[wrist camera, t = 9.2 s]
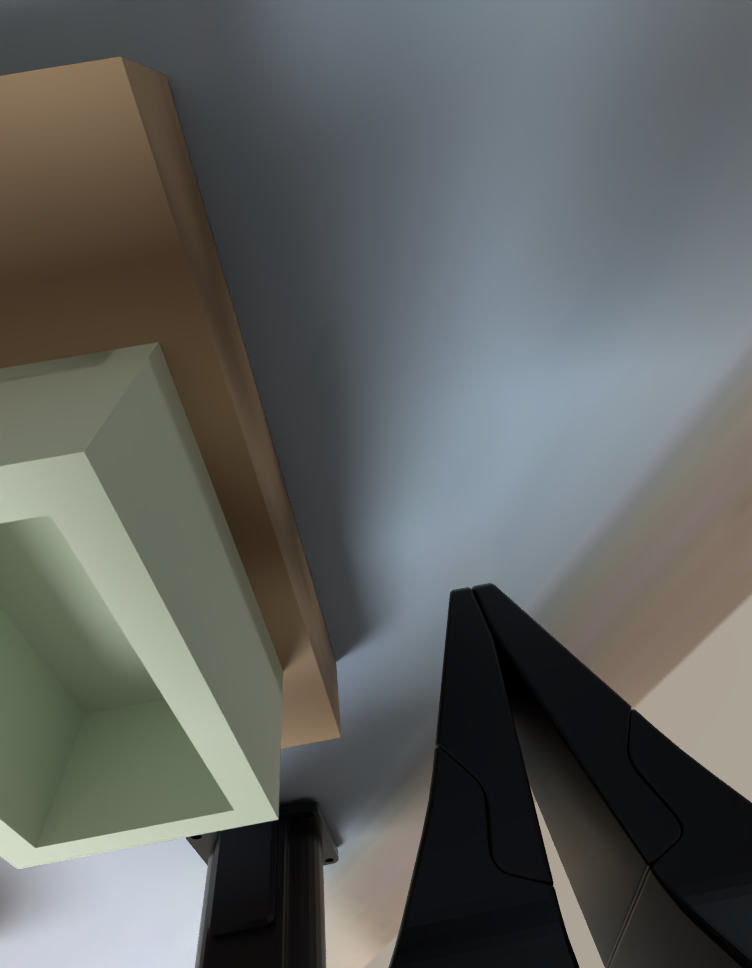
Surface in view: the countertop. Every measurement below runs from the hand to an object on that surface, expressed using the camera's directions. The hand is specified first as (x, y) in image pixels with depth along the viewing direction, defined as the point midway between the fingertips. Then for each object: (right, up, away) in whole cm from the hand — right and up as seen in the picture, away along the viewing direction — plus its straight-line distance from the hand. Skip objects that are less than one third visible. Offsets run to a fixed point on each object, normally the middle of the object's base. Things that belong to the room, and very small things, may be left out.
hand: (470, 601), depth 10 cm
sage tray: (-8, 0, +2) cm, 8 cm away
